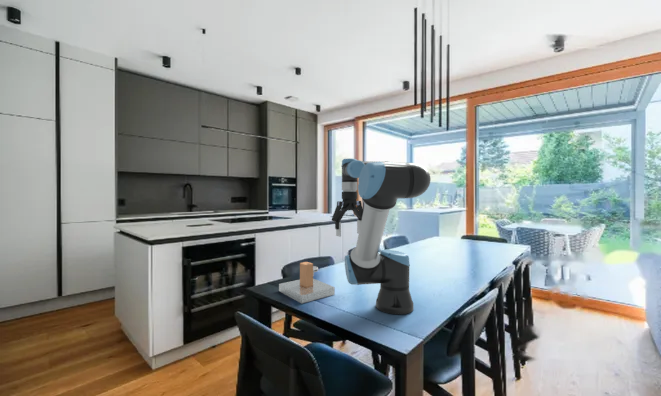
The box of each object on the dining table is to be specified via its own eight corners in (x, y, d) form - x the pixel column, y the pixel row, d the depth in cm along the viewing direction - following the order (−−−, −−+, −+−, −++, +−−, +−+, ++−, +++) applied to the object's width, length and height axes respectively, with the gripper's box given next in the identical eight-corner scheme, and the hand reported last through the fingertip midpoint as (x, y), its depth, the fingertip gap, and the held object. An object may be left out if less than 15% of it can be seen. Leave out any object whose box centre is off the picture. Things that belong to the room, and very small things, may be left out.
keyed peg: (299, 292, 141) (299, 262, 141) (306, 290, 143) (306, 261, 143) (306, 295, 137) (306, 264, 137) (313, 293, 140) (313, 263, 139)
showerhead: (307, 263, 168) (321, 265, 162) (307, 275, 168) (321, 278, 162) (296, 266, 161) (310, 269, 155) (296, 279, 161) (310, 283, 155)
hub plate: (334, 294, 138) (334, 286, 138) (301, 303, 127) (301, 295, 127) (310, 283, 154) (310, 277, 154) (279, 291, 143) (279, 283, 142)
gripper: (362, 191, 154) (362, 231, 155) (324, 191, 139) (324, 236, 140) (373, 191, 149) (373, 233, 149) (334, 191, 133) (334, 238, 134)
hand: (349, 234), depth 144 cm, fingers open, 13 cm apart
